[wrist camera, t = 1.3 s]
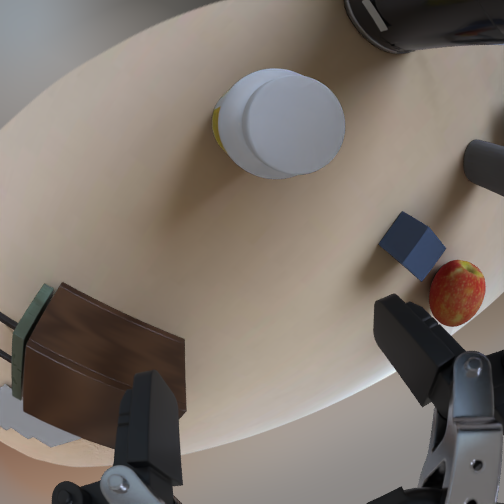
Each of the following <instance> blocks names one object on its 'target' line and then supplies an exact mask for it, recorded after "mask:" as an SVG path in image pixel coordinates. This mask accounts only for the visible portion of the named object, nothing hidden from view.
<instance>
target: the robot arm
mask: <svg viewBox="0 0 504 504" xmlns="http://www.w3.org/2000/svg"><path fill="white" fill-rule="evenodd" d="M344 3H345V8H346V11H347V13H348V16H349V18H350V20H351V21H352V23H353V24H354V26H355V27H356V29H357V30H358V31H359V32H360V33H361V34H362V36H363V37H365V38H366V39H367V40H368V41H369V42H370V43H372V44H373V45H375V46H376V47H378V48H380V49H381V50H384V51H386V52H389V53H394V54H403V53H409V52H412V51H416V50H423V49H432V48H442V47H453V46H468V45H504V0H344ZM373 332H374V337H375V340H376V343H377V345H378V346H379V348H380V349H381V350H382V352H383V353H384V354H385V356H386V357H387V358H388V360H389V361H390V363H391V364H392V365H393V367H394V368H395V369H396V371H397V372H398V373H399V375H400V376H401V378H402V379H403V381H404V382H405V383H406V385H407V386H408V387H409V389H410V390H411V392H412V393H413V395H414V396H415V397H416V399H417V400H418V402H419V403H420V405H421V406H422V407H424V406H425V405H427V404H429V403H430V402H432V403H433V404H434V406H435V408H434V414H433V423H432V431H431V438H430V444H429V450H428V455H427V458H426V461H425V463H424V466H423V469H422V472H421V475H420V479H419V484H418V488H412V489H407V490H403V488H402V487H399V488H397V489H395V490H393V491H391V492H389V493H387V494H385V495H383V496H381V497H379V498H377V499H375V500H373V501H370V502H368V503H367V504H504V503H498V502H497V497H498V490H499V483H500V482H499V481H500V474H501V462H502V445H503V435H504V350H502V351H499V352H496V353H493V354H490V355H486V356H485V355H484V354H482V353H480V352H477V351H465V350H464V349H463V348H462V347H461V346H460V345H459V344H458V343H457V342H456V341H455V339H454V338H453V337H452V336H451V335H450V334H449V333H448V332H447V331H446V330H445V329H444V328H443V327H442V326H441V325H440V324H439V325H438V322H437V321H436V320H435V319H434V318H433V317H432V318H431V315H430V314H429V313H428V312H427V311H426V310H425V309H424V308H423V307H421V306H419V305H417V304H414V303H412V302H407V303H405V302H404V301H403V300H402V299H401V298H400V297H399V296H398V295H396V294H391V295H389V296H387V297H384V298H382V299H379V300H377V301H376V302H375V304H374V328H373ZM117 424H118V426H117V432H116V442H115V453H114V463H113V467H111V468H109V469H107V471H105V472H104V474H103V475H102V477H101V480H100V481H98V482H95V483H92V484H88V485H85V486H81V487H79V486H78V485H76V484H74V483H72V482H69V481H64V482H61V483H59V484H58V485H57V486H56V487H55V489H54V491H53V494H52V504H182V503H181V502H180V501H179V500H178V499H177V498H176V497H175V496H174V495H173V488H172V486H181V485H183V480H182V468H181V455H180V438H179V415H178V404H177V400H176V398H175V396H174V394H173V392H172V391H171V390H170V388H169V387H168V385H167V384H166V383H165V381H164V380H163V378H162V377H161V375H160V374H159V373H158V371H157V370H150V371H145V372H140V373H136V374H135V375H134V380H133V387H132V389H127V390H126V392H125V394H124V396H123V397H122V399H121V401H120V407H119V416H118V423H117Z"/></svg>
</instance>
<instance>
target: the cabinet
mask: <svg viewBox="0 0 504 504" xmlns="http://www.w3.org/2000/svg"><path fill="white" fill-rule="evenodd" d="M150 370H157V371H158V373H159V374H160V375H161V377H162V378H163V380H164V381H165V383H166V384H167V385H168V387H169V388H170V390H171V391H172V392H173V394H174V396H175V398H176V400H177V404H178V415H179V419H180V418H181V417H182V416H183V414H184V413H185V412H186V411H187V409H186V383H185V339H182V338H180V337H177V336H175V335H173V334H170V333H168V332H165V331H163V330H161V329H158V328H156V327H154V326H151V325H149V324H147V323H144V322H142V321H140V320H138V319H135V318H133V317H131V316H129V315H127V314H125V313H122V312H120V311H118V310H116V309H114V308H112V307H110V306H108V305H106V304H104V303H102V302H100V301H98V300H96V299H94V298H92V297H90V296H88V295H86V294H84V293H82V292H80V291H78V290H76V289H74V288H73V287H71V286H69V285H67V284H65V283H63V282H62V283H61V285H60V286H59V288H58V289H57V291H56V293H55V294H54V296H53V298H52V299H51V301H50V303H49V304H48V306H47V308H46V309H45V311H44V313H43V315H42V316H41V318H40V320H39V322H38V323H37V325H36V327H35V329H34V331H33V333H32V334H31V336H30V338H29V340H28V342H27V344H26V350H25V361H24V378H23V412H25V413H27V414H29V415H31V416H33V417H35V418H37V419H39V420H41V421H43V422H45V423H47V424H50V425H52V426H54V427H56V428H59V429H61V430H63V431H66V432H68V433H70V434H73V435H75V436H78V437H81V438H83V439H86V440H89V441H91V442H94V443H97V444H100V445H103V446H106V447H109V448H112V449H115V442H116V432H117V426H118V424H117V423H118V416H119V407H120V401H121V399H122V397H123V396H124V394H125V392H126V390H127V389H132V387H133V380H134V375H135V374H136V373H140V372H145V371H150Z"/></svg>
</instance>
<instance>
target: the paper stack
mask: <svg viewBox="0 0 504 504" xmlns="http://www.w3.org/2000/svg"><path fill="white" fill-rule="evenodd" d="M0 426H1V427H2V428H3V429H5V430H8V429H10V428H12V429H14V430H15V431H17V432H18V433H20V434H21V435H23V436H24V437H26V438H27V439H29V438H32V437H34V438H36V439H38V440H39V441H41V442H42V443H44V444H46V445H47V446H49V447H54V446H57V445H61V444H64V443H68V442H71V441H74V440H78V439H81V437H78V436H75V435H73V434H70V433H68V432H66V431H63V430H61V429H59V428H56V427H54V426H52V425H50V424H47V423H45V422H43V421H41V420H39V419H37V418H35V417H33V416H31V415H29V414H27V413H25V412H23V398H22V400H21V401H20V400H19V399H17V398H15V397H13V396H12V389H11V388H10V387H9V386H7V385H6V384H4V385H3V386H2V387H1V388H0Z"/></svg>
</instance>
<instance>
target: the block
mask: <svg viewBox="0 0 504 504" xmlns="http://www.w3.org/2000/svg"><path fill="white" fill-rule="evenodd" d="M378 245H380V246H381V247H382V248H383V249H384V250H385V251H387V252H388V253H389V254H390V255H391V256H392V257H394V258H395V259H396V260H397V261H398V262H399V263H401V264H402V265H403V266H404V267H405V268H406V269H407V270H409V271H410V272H411V273H412V274H413V275H414V276H416V277H417V278H418V279H419V280H420V281H421V282H422V281H423V280H424V278H425V277H426V276H427V274H428V273H429V272H430V270H431V269H432V268H433V266H434V265H435V264H436V262H437V261H438V259H439V258H440V257H441V255H442V254H443V252H444V251H445V249H446V247H445V246H444V245H443V244H442V242H441V241H440V240H439V239H438V237H437V236H436V235H435V234H434V232H433V231H432V230H431V229H430V228H429V227H428V226H427V225H425V224H423V223H422V222H420V221H418V220H417V219H415V218H413V217H412V216H410V215H408V214H407V213H405V212H403V211H402V212H401V214H400V215H399V216H398V218H397V219H396V221H395V222H394V223H393V225H392V226H391V228H390V229H389V230H388V232H387V233H386V235H385V236H384V237H383V239H382V240H381V241H380V243H379V244H378Z"/></svg>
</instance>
